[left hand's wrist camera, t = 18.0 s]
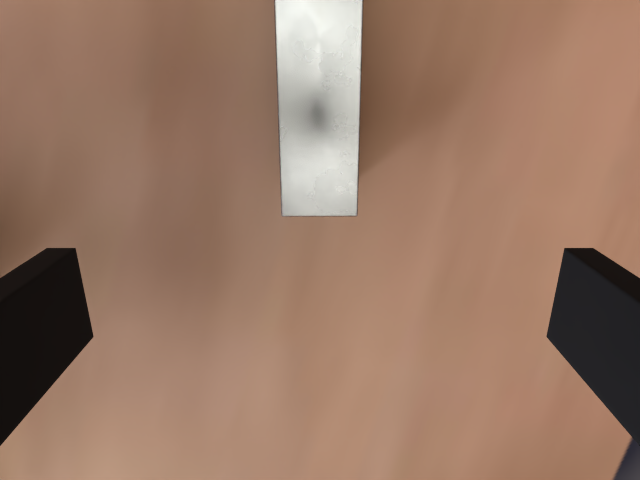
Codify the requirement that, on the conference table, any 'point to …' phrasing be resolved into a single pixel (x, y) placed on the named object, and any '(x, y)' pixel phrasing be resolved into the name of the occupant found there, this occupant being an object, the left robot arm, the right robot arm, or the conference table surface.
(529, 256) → the conference table surface
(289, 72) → the bar
